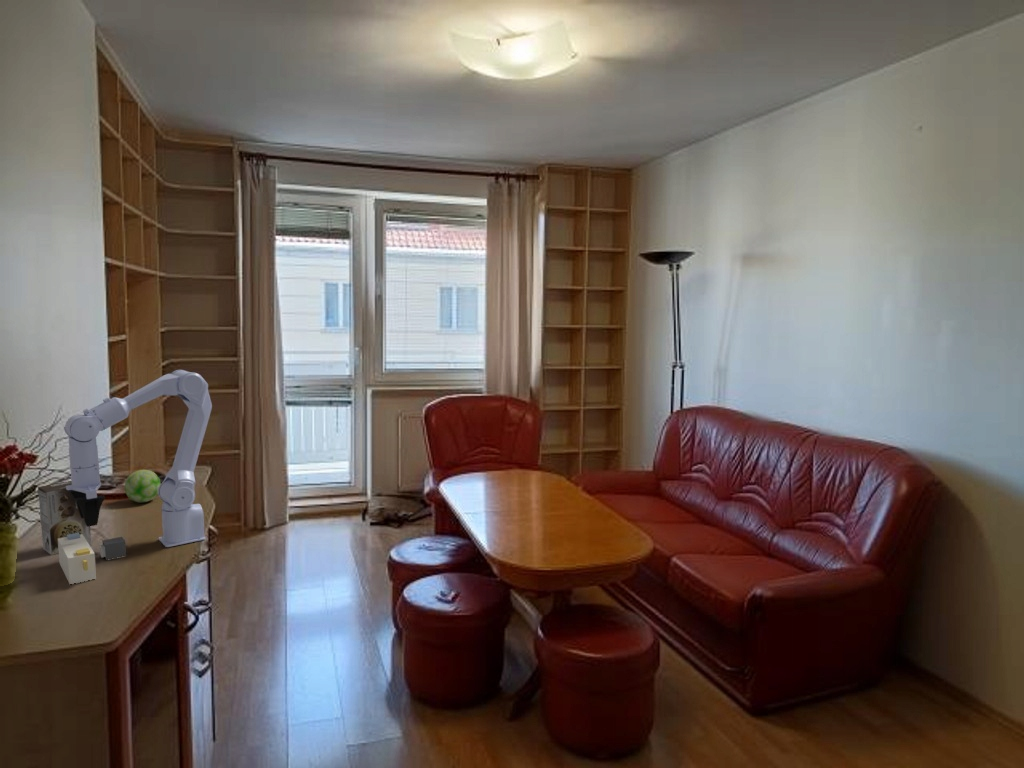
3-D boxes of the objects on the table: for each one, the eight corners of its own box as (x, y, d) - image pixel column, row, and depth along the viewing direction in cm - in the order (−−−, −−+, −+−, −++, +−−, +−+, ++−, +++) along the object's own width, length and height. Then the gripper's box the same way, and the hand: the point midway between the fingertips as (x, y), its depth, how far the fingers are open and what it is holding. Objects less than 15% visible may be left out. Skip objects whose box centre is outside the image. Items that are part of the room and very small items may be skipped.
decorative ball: (130, 508, 205) (128, 475, 204) (121, 501, 213) (119, 469, 211) (166, 502, 212) (164, 470, 211) (156, 495, 219) (154, 464, 218)
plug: (122, 552, 171) (121, 536, 170) (126, 556, 168) (125, 541, 167) (99, 557, 167) (98, 541, 167) (102, 561, 164) (101, 545, 164)
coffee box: (82, 539, 179) (78, 478, 177) (92, 545, 175) (88, 483, 173) (41, 549, 172) (37, 486, 170) (50, 555, 168) (46, 490, 166)
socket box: (82, 556, 167) (81, 530, 167) (97, 581, 153) (95, 552, 152) (58, 561, 164) (56, 534, 163) (71, 587, 150) (68, 557, 149)
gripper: (60, 462, 165) (64, 517, 167) (69, 474, 154) (74, 533, 156) (94, 458, 170) (98, 511, 172) (105, 469, 159) (109, 526, 161)
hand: (89, 521), depth 164 cm, fingers open, 7 cm apart
